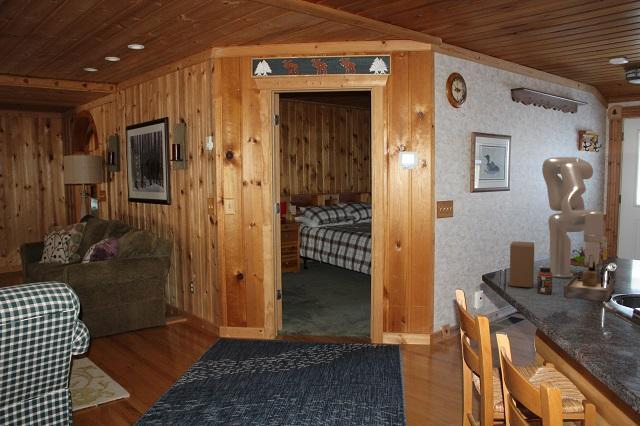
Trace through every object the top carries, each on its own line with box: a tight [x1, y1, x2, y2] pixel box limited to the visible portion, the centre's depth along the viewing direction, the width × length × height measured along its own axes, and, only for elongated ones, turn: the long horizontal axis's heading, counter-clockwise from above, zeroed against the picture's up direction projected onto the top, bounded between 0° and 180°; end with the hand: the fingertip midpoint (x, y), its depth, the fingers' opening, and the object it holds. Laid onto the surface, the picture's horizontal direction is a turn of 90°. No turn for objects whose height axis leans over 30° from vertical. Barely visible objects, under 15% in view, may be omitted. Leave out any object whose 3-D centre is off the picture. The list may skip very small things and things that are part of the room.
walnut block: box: [582, 269, 598, 287], centre depth 217 cm, size 5×5×6 cm
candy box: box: [599, 236, 609, 261], centre depth 294 cm, size 9×4×15 cm, turn 29°
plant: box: [570, 246, 603, 268], centre depth 282 cm, size 20×20×11 cm
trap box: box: [563, 274, 615, 303], centre depth 216 cm, size 16×28×4 cm, turn 145°
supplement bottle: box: [536, 266, 553, 295], centre depth 216 cm, size 6×6×11 cm
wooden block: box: [509, 240, 535, 289], centre depth 232 cm, size 10×10×20 cm
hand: (592, 279), depth 223 cm, fingers closed
